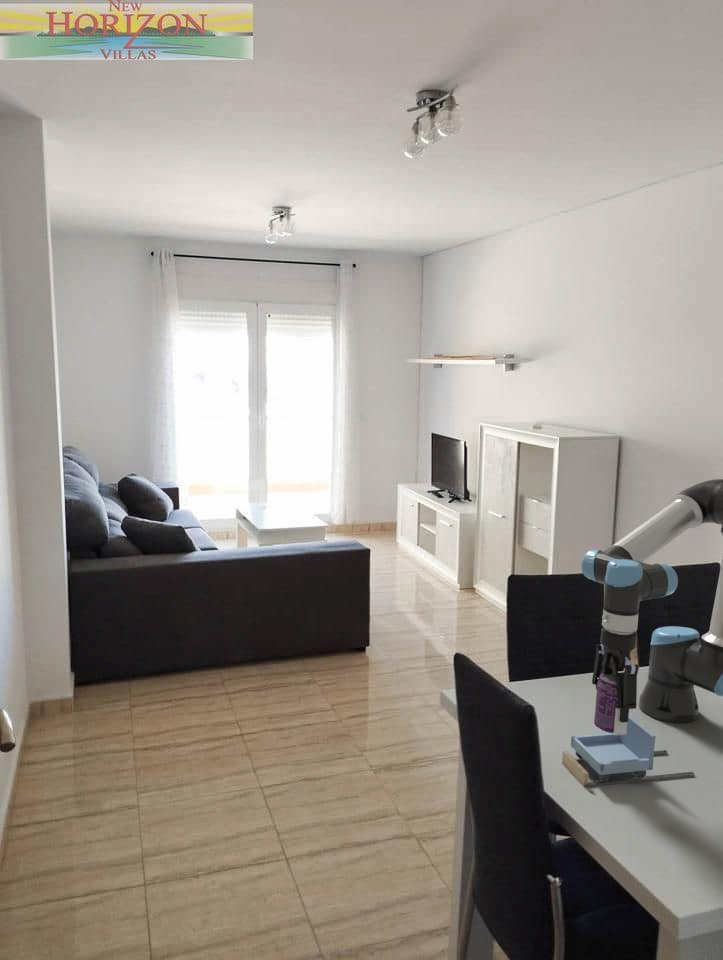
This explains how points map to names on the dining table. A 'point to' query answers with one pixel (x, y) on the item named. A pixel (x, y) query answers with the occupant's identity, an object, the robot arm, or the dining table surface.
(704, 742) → the dining table surface
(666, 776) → the track
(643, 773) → the pale blue open box
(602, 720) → the beverage can
